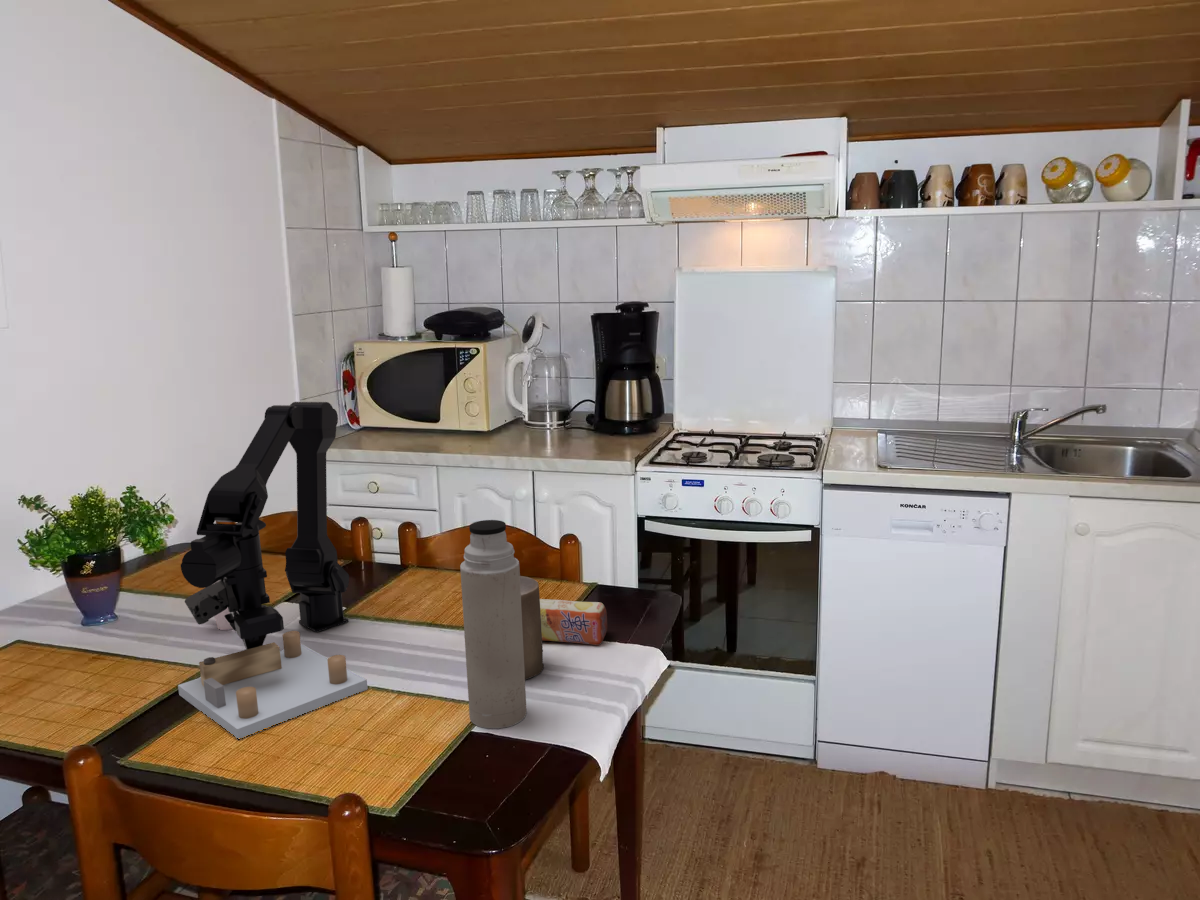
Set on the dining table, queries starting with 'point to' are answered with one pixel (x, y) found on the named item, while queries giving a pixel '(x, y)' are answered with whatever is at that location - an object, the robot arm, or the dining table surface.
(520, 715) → the thermos bottle
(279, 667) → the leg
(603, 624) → the snack package
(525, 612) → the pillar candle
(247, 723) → the grey peg board
